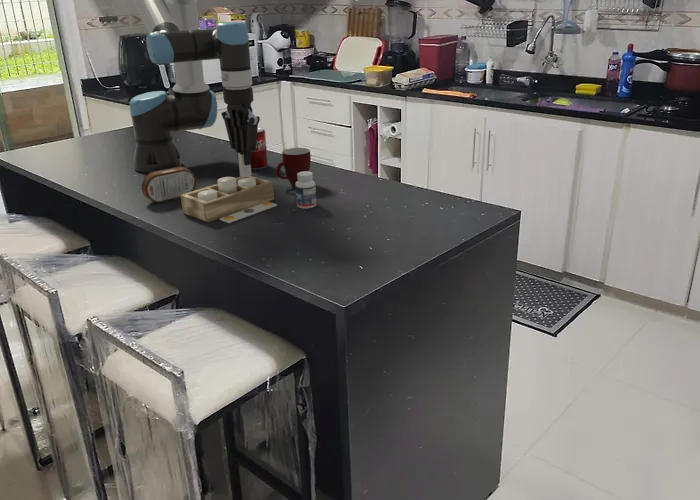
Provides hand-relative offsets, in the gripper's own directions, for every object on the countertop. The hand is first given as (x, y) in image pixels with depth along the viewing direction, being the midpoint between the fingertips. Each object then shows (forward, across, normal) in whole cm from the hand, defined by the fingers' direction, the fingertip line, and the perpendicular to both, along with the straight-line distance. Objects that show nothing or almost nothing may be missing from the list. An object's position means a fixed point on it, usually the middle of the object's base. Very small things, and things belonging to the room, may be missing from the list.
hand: (245, 175), depth 165 cm
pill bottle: (+7, +16, +6) cm, 19 cm away
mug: (+7, +1, +16) cm, 18 cm away
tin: (+7, -18, -13) cm, 23 cm away
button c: (+5, 0, 0) cm, 5 cm away
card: (+7, +8, -7) cm, 13 cm away
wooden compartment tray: (+7, 0, -7) cm, 9 cm away
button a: (+5, 0, -13) cm, 14 cm away
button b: (+3, 0, -7) cm, 7 cm away
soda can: (+7, -23, +22) cm, 33 cm away
